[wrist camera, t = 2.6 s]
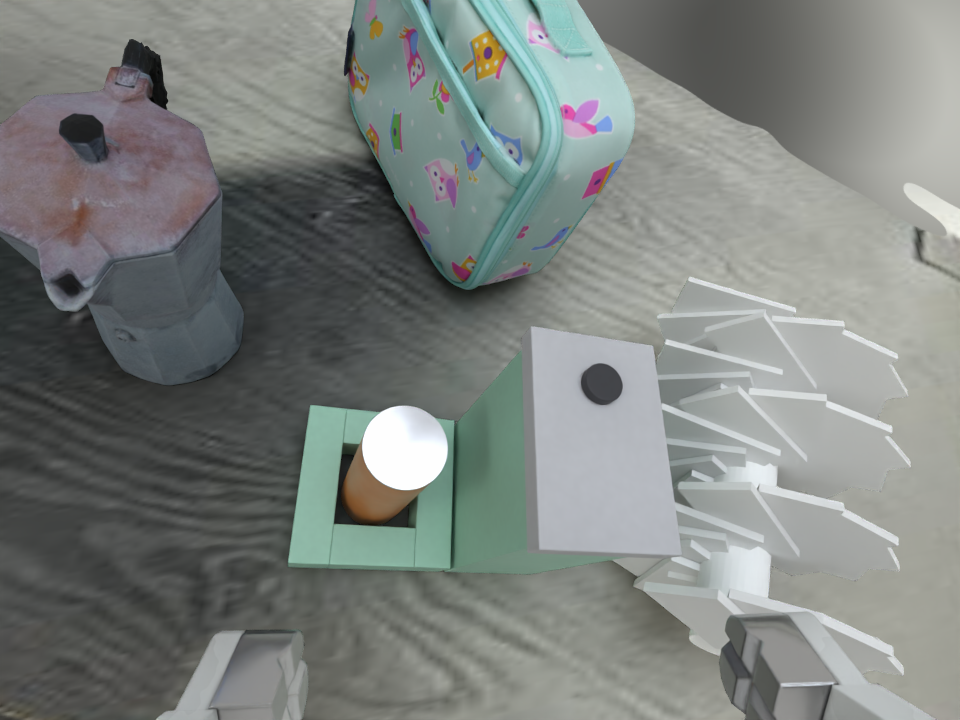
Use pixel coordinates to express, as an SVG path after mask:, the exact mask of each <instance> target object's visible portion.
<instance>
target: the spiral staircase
mask: <svg viewBox="0 0 960 720" xmlns="http://www.w3.org/2000/svg"><path fill="white" fill-rule="evenodd" d="M795 313H796V308H794V307H791V306H787V305H784V304H781V303H777V302H774V301H770V300H767V299H764V298H760V297H757V296H753V295H750V294H747V293H743V292H740V291H736V290H733V289H730V288H726V287H723V286H719V285H716V284H713V283H709V282H706V281H702V280H699V279H696V278H692V277H689V278H688V280H687V281H686V283H685V285H684V287H683V289H682V291H681V293H680V295H679V297H678V299H677V300H676V302H675V304H674V306H673V308H672V311H671V314H658V317H657V320H658V323H659V326H660V329H661V332H662V335H663V338H664V341H665V343H664V345H663V348H662V350H661V353H660V354H658V357H657V359H658V360H657V363H656V370H657V377H658V385H659V392H660V399H661V406H662V414H663V421H664V428H665V435H666V442H667V450H668V457H669V464H670V471H671V479H672V486H673V493H674V500H675V507H676V515H677V522H678V529H679V536H680V544H681V551H682V556H679V557H672V558H666V559H659V558H634V557H626V558H620V559H615V560H613V561H614V562H616V563H617V564H619V565H620V566H622V567H623V568H625V569H627V570H628V571H630V572H631V573H633V574H634V575H636V576H640V577H638V578H637V579H636V580H634V585H633V587H635V588H637V589H640V590H642V591H644V592H645V593H647V594H648V595H649V596H650V597H652V598H653V599H654V600H655V601H657V602H658V603H659V604H660V605H662V606H663V607H664V608H665V609H667V610H668V611H669V612H670V613H671V614H673V615H674V616H675V617H676V618H678V619H679V620H680V621H681V622H683V623H684V624H685V625H686V626H688V627H689V628H690V634H689V640H690V641H691V642H692V643H693V644H694V645H696V646H698V647H699V648H701V649H703V650H705V651H707V652H710V653H712V654H715V655H718V656H720V653H721V648H722V647H723V646H724V645H725V644H726V643H727V642H728V641H729V640H730V639H729V638H728V636H727V634H726V632H725V626H726V621H727V619H728V618H729V616H730V615H737V614H759V613H782V612H803V611H808V612H810V613H812V614H813V615H815V616H816V618H817V619H818V620H819V621H820V623H821V624H822V625H823V626H824V627H825V629H826V630H827V631H828V632H829V634H830V635H831V636H832V637H833V639H834V640H835V641H836V642H837V644H838V645H839V646H840V647H841V649H842V650H843V651H844V652H845V654H846V655H847V656H848V657H849V659H850V660H851V661H852V662H853V664H854V665H855V666H856V667H857V668H858V670H859V671H860V672H861V673H862V675H864V674H865V673H866V672H868V671H869V670H872V671H877V672H883V673H889V674H895V675H900V676H904V670H903V666H902V664H901V663H900V662H899V661H898V660H897V659H896V658H895V656H894V655H893V646H891V645H889V644H886V643H884V642H882V641H881V640H880V639H879V638H878V637H872V636H869V635H867V634H865V633H863V632H861V631H859V630H857V629H855V628H852V627H850V626H848V625H846V624H844V623H842V622H840V621H838V620H835V619H833V618H831V617H829V616H827V615H825V614H823V613H821V612H816V611H812V610H808V609H805V608H801V607H798V606H794V605H790V604H787V603H783V602H779V601H776V600H772V599H768V594H769V581H770V568H771V566H773V567H775V568H777V569H779V570H781V571H783V572H785V573H787V574H789V575H790V576H796V575H803V574H810V573H817V572H823V573H826V574H830V575H833V576H837V577H841V578H844V579H848V580H852V581H856V580H858V579H859V578H860V577H861V576H862V575H863V574H865V573H866V572H867V571H868V570H869V569H876V570H888V571H899V572H900V565H899V562H898V560H897V558H896V556H895V554H894V552H893V550H892V548H891V547H895V546H899V540H898V537H897V536H895V535H893V534H891V533H889V532H887V531H885V530H884V529H882V528H880V527H878V526H876V525H874V524H872V523H871V522H869V521H867V520H865V519H863V518H861V517H859V516H858V515H856V514H854V513H852V512H850V511H848V510H846V509H845V508H844V503H841V502H837V501H833V500H829V499H828V498H830V497H832V496H835V495H837V494H839V493H841V492H843V491H846V490H848V489H850V488H858V489H865V490H872V491H879V492H881V489H882V486H883V484H884V481H885V478H886V475H887V473H888V470H891V469H902V468H911V462H910V460H909V459H908V457H907V456H906V455H905V454H904V453H903V452H902V450H901V449H900V448H899V447H898V446H897V445H896V443H895V442H894V441H893V440H892V439H891V438H890V436H889V435H890V434H892V426H890V425H888V424H885V423H883V422H880V421H878V420H877V419H878V417H879V415H880V413H881V411H882V409H883V407H884V404H885V402H886V400H887V399H895V398H902V397H908V391H907V389H906V387H905V386H904V384H903V382H902V381H901V379H900V377H899V376H898V374H897V372H896V371H895V369H894V367H893V366H892V364H891V363H893V362H895V361H897V360H898V354H897V353H895V352H893V351H890V350H888V349H886V348H884V347H882V346H880V345H877V344H875V343H873V342H871V341H869V340H867V339H864V338H862V337H860V336H858V335H856V334H853V333H851V332H849V331H847V330H845V329H844V321H837V320H824V319H811V318H797V317H792V316H793V315H794V314H795ZM777 486H778V487H780V488H778V487H777ZM799 492H806V493H809V494H811V495H807V494H803V493H799ZM812 495H814V496H812Z"/></svg>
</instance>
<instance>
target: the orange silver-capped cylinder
mask: <svg viewBox="0 0 960 720" xmlns="http://www.w3.org/2000/svg"><path fill="white" fill-rule="evenodd" d="M447 455H448V443H447V438H446V435H445V432H444V430H443V428H442V427H441V425H440V424H439V422H438V421H437V420H436V419H435V418H434V417H433V416H432V415H430V414H429V413H428V412H426V411H424V410H422V409H420V408H417V407H413V406H395V407H391V408H388V409H386V410H384V411H382V412H380V413H379V414H378V415H376V416H375V417H374V418H373V419H372V421H371V422H370V423H369V425H368V426H367V428H366V430H365V433H364V435H363V437H362V440H361V442H360V444H359V447H358V449H357V451H356V454H355V456H354V458H353V461H352V463H351V465H350V468H349V470H348V473H347V475H346V477H345V480H344V482H343V485H342V488H341V501H342V505H343V508H344V509H345V511H346V513H347V514H348V515H349V516H350V517H351V518H352V519H353V520H354V521H356V522H358V523H360V524H363V525H367V526H376V525H381V524H384V523H386V522H388V521H390V520H391V519H392V518H394V517H395V516H396V515H397V514H398V513H399V512H400V511H401V510H402V509H403V508H404V507H405V506H406V505H408V504H409V503H410V502H411V501H412V500H413V499H414V498H415V497H416V496H417V495H418V494H419V493H420V492H422V491H423V490H424V489H425V488H426V487H427V486H428V485H429V484H430V483H431V482H432V481H433V480H435V478H436V477H437V476H438V475H439V474H440V473H441V471H442V469H443V468H444V466H445V463H446V460H447Z"/></svg>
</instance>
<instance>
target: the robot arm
mask: <svg viewBox="0 0 960 720" xmlns="http://www.w3.org/2000/svg"><path fill="white" fill-rule="evenodd" d="M725 632H726V634H727V636H728V638H729V639H730V640H729V641H728V642H727V643H726V644H725V645H724V646H723V647H722V648H721V653H720V661H719V665H720V673H721V679H722V682H723V685H724V688H725V691H726V693H727V695H728V697H729V699H730V701H731V703H732V704H733V705H734V706H735V707H737V708H738V709H739V710H741V711H742V712H743V713H744V714H746V716H745V720H937V719H935V718H933V717H932V716H930V715H928V714H927V713H925V712H924V711H922V710H920V709H919V708H917V707H915V706H914V705H912V704H910V703H909V702H907V701H906V700H904V699H902V698H901V697H899V696H897V695H896V694H894V693H893V692H891V691H889V690H888V689H886V688H884V687H883V686H881V685H879V684H870V683H869V682H868V681H867V680H866V678H865V677H864V676H863V675H862V673H861V672H860V671H859V670H858V668H857V667H856V666H855V665H854V664H853V662H852V661H851V660H850V659H849V657H848V656H847V655H846V654H845V652H844V651H843V650H842V649H841V647H840V646H839V645H838V644H837V642H836V641H835V640H834V639H833V637H832V636H831V635H830V634H829V632H828V631H827V630H826V629H825V627H824V626H823V625H822V624H821V623H820V621H819V620H818V619H817V618H816V616H815V615H813V614H812V613H810V612H808V611H803V612H782V613H759V614H737V615H730V616H729V618H728V619H727V621H726V626H725ZM304 646H305V644H304V638H303V633H302V631H301V630H246V631H218V632H217V633H216V634H215V635H214V636H213V637H212V639H211V641H210V643H209V645H208V647H207V649H206V650H205V652H204V654H203V656H202V658H201V660H200V662H199V664H198V666H197V668H196V670H195V672H194V674H193V676H192V678H191V680H190V682H189V683H188V685H187V687H186V689H185V691H184V693H183V695H182V697H181V699H180V701H179V703H178V705H177V707H176V709H175V711H165V712H164V713H163V714H162V715H160V716H159V717H158V718H157V719H155V720H302V719H303V715H304V711H305V707H306V702H307V694H308V666H307V663H306V662H305V661H304V660H303V659H302V658H301V656H302V652H303V649H304Z"/></svg>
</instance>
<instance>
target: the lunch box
mask: <svg viewBox="0 0 960 720" xmlns="http://www.w3.org/2000/svg"><path fill="white" fill-rule="evenodd" d="M347 74H348V91H349V99H350V104H351V108H352V111H353V114H354V117H355V119H356V122H357V124H358V126H359V128H360V130H361V132H362V134H363V135H364V137H365V139H366V141H367V142H368V144H369V146H370V148H371V150H372V152H373V154H374V155H375V157H376V159H377V161H378V163H379V164H380V166H381V168H382V170H383V172H384V174H385V176H386V178H387V180H388V182H389V184H390V186H391V188H392V190H393V192H394V197H395V199H396V201H397V202H398V204H399V205H400V207H401V208H402V210H403V211H404V213H405V214H406V216H407V218H408V219H409V221H410V223H411V225H412V226H413V228H414V230H415V231H416V233H417V235H418V237H419V239H420V240H421V242H422V244H423V246H424V248H425V249H426V251H427V253H428V254H429V256H430V258H431V260H432V261H433V263H434V265H435V266H436V268H437V269H438V270H439V271H440V273H441V274H442V275H443V276H444V277H445V278H446V279H447V280H448V281H449V282H451V283H452V284H454V285H455V286H458V287H460V288H463V289H465V290H471V289H474V288H476V287H477V286H479V285H488V284H491V283H495V282H500V281H504V280H507V279H511V278H514V277H518V276H521V275H526V274H532V273H536V272H538V271H540V270H541V269H542V268H543V267H544V266H545V265H546V264H548V263H549V261H550V260H551V259H552V258H553V256H554V255H555V254H556V253H557V251H558V250H559V249H560V248H561V246H562V245H563V244H564V242H565V241H566V240H567V238H568V237H569V236H570V234H571V233H572V232H573V230H574V229H575V227H576V226H577V225H578V223H579V222H580V220H581V219H582V218H583V216H584V215H585V213H586V212H587V211H588V209H589V208H590V206H591V205H592V203H593V202H594V201H595V199H596V198H597V196H598V195H599V194H600V192H601V191H602V189H603V188H604V186H605V185H606V184H607V182H608V181H609V179H610V178H611V177H612V175H613V174H614V173H615V171H616V170H617V168H618V167H619V165H620V163H621V162H622V160H623V158H624V157H625V155H626V153H627V151H628V149H629V147H630V144H631V141H632V138H633V134H634V127H635V113H634V105H633V101H632V97H631V95H630V92H629V89H628V87H627V85H626V83H625V81H624V79H623V77H622V75H621V73H620V71H619V69H618V67H617V65H616V64H615V62H614V60H613V58H612V57H611V55H610V53H609V52H608V50H607V48H606V47H605V45H604V43H603V42H602V40H601V39H600V37H599V35H598V34H597V32H596V31H595V29H594V27H593V26H592V24H591V22H590V21H589V19H588V18H587V16H586V15H585V13H584V11H583V10H582V8H581V7H580V5H579V3H578V2H577V0H355V6H354V12H353V17H352V22H351V27H350V29H349V32H348V38H347V49H346V57H345V65H344V75H345V76H346V75H347Z"/></svg>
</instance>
